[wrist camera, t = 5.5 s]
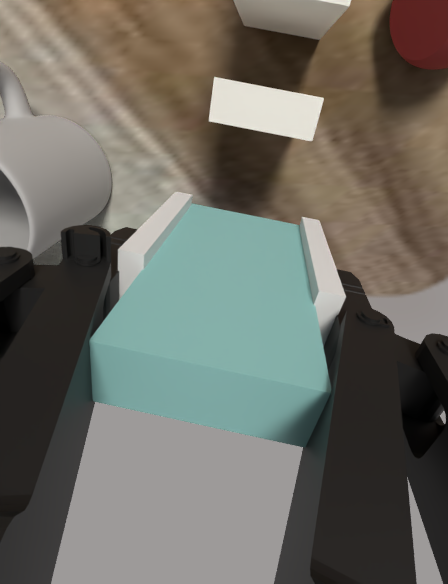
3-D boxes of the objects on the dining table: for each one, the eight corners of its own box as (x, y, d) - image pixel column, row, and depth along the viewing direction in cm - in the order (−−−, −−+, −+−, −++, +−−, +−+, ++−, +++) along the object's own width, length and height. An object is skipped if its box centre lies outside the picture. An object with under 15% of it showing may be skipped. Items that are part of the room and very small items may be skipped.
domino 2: (298, 124, 25) (312, 141, 16) (230, 111, 25) (208, 121, 16) (305, 96, 24) (324, 97, 15) (235, 82, 24) (214, 77, 15)
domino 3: (289, 260, 16) (306, 447, 8) (187, 239, 16) (92, 400, 8) (299, 225, 15) (332, 393, 7) (191, 203, 15) (88, 340, 7)
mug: (123, 219, 30) (55, 277, 21) (35, 222, 31) (-67, 277, 22) (86, 55, 24) (-33, 31, 15) (-21, 66, 25) (-194, 50, 16)
